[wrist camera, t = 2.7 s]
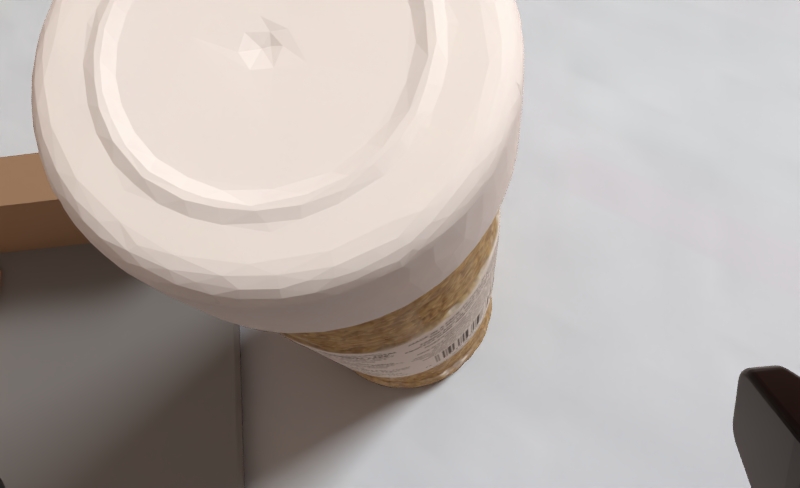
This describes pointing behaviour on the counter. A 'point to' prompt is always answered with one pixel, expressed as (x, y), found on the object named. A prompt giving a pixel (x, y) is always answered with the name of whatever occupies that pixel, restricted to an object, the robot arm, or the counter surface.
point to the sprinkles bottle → (294, 162)
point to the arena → (104, 362)
